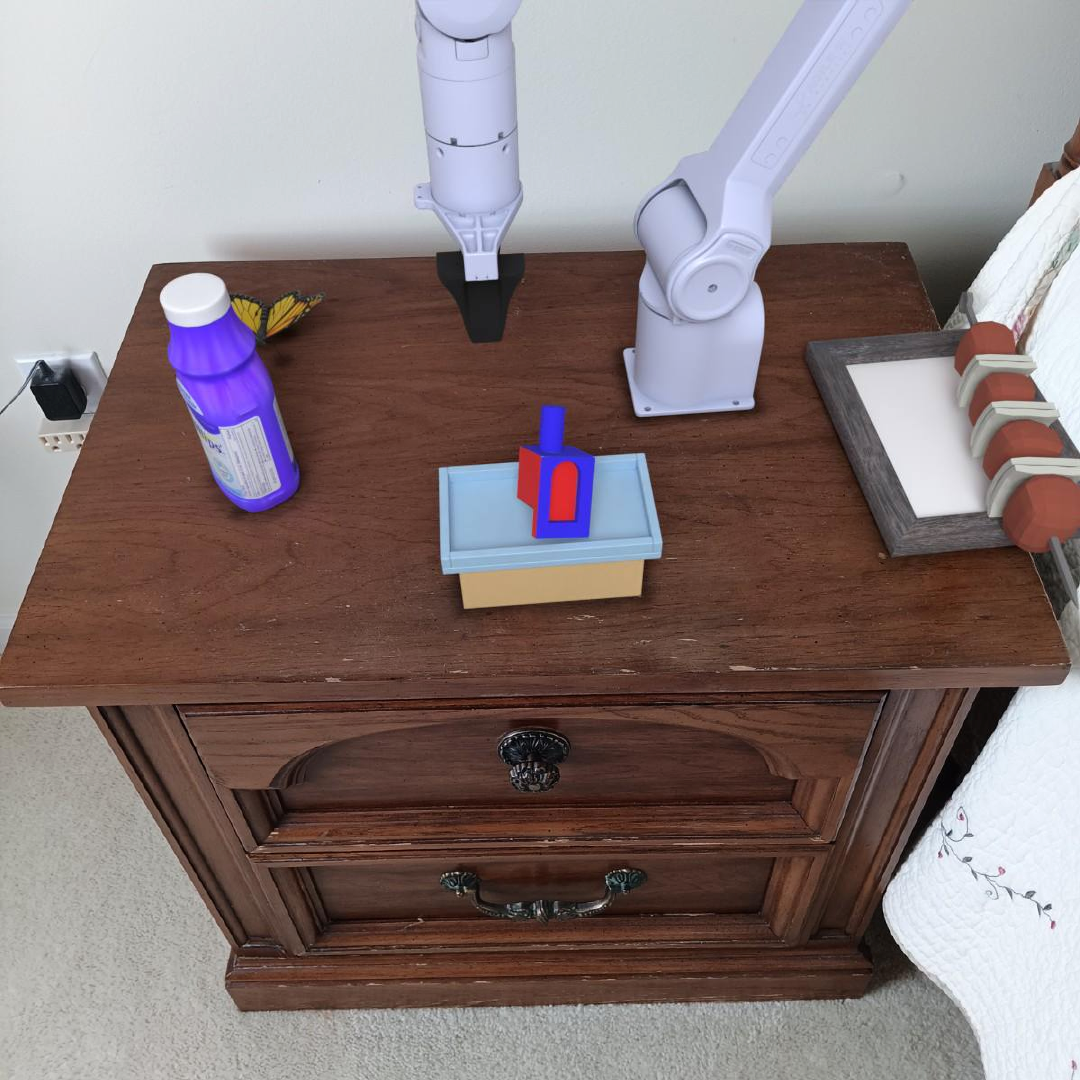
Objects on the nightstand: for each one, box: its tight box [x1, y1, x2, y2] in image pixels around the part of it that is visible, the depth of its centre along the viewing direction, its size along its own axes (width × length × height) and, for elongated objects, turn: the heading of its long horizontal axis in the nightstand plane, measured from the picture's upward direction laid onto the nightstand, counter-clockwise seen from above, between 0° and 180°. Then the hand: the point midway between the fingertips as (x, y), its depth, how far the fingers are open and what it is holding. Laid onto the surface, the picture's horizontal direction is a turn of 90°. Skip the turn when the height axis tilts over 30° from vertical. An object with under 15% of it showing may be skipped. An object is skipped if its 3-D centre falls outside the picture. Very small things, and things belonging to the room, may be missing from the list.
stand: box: [438, 452, 663, 610], centre depth 68 cm, size 14×8×6 cm, turn 94°
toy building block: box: [517, 404, 595, 539], centre depth 64 cm, size 4×4×8 cm
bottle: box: [159, 272, 301, 513], centre depth 69 cm, size 7×6×17 cm
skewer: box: [954, 291, 1080, 610], centre depth 71 cm, size 5×5×30 cm
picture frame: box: [804, 328, 1080, 558], centre depth 76 cm, size 16×2×21 cm
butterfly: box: [228, 289, 327, 375], centre depth 84 cm, size 12×9×5 cm
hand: (484, 305), depth 72 cm, fingers open, 7 cm apart
